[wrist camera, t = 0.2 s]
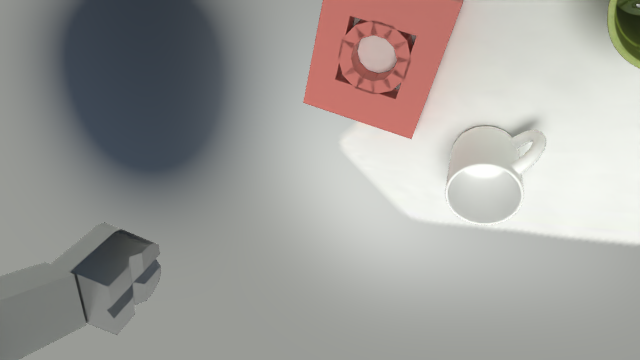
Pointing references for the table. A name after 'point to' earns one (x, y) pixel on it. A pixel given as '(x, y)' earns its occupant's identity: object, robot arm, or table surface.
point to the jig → (369, 87)
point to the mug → (489, 173)
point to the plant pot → (625, 29)
